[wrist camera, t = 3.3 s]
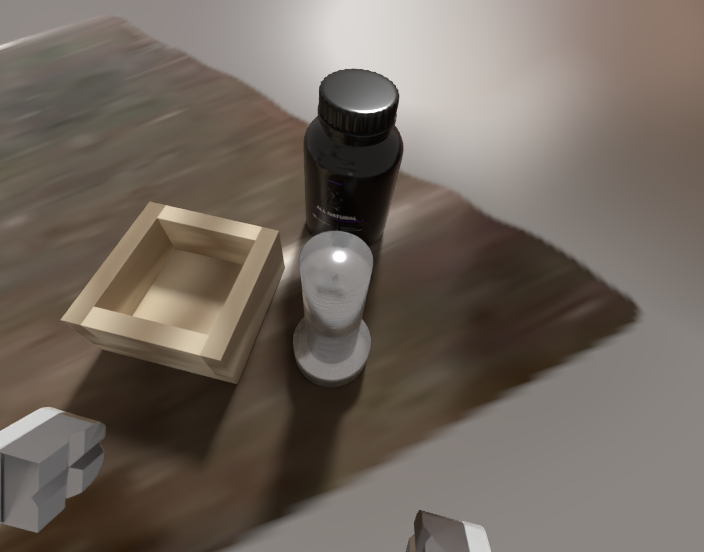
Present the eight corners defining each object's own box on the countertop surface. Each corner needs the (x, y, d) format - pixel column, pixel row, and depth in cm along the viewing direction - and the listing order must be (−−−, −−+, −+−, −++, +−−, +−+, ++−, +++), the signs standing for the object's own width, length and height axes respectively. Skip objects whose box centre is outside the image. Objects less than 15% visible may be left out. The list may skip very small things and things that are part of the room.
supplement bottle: (317, 263, 29) (314, 131, 19) (298, 202, 32) (287, 63, 22) (397, 246, 30) (434, 116, 20) (371, 189, 34) (391, 54, 23)
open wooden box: (102, 349, 24) (60, 319, 20) (172, 241, 29) (149, 201, 25) (237, 384, 23) (220, 360, 19) (284, 267, 28) (278, 230, 24)
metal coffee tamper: (285, 377, 24) (260, 294, 14) (307, 311, 26) (298, 206, 17) (358, 395, 23) (382, 324, 14) (373, 327, 26) (401, 229, 17)
